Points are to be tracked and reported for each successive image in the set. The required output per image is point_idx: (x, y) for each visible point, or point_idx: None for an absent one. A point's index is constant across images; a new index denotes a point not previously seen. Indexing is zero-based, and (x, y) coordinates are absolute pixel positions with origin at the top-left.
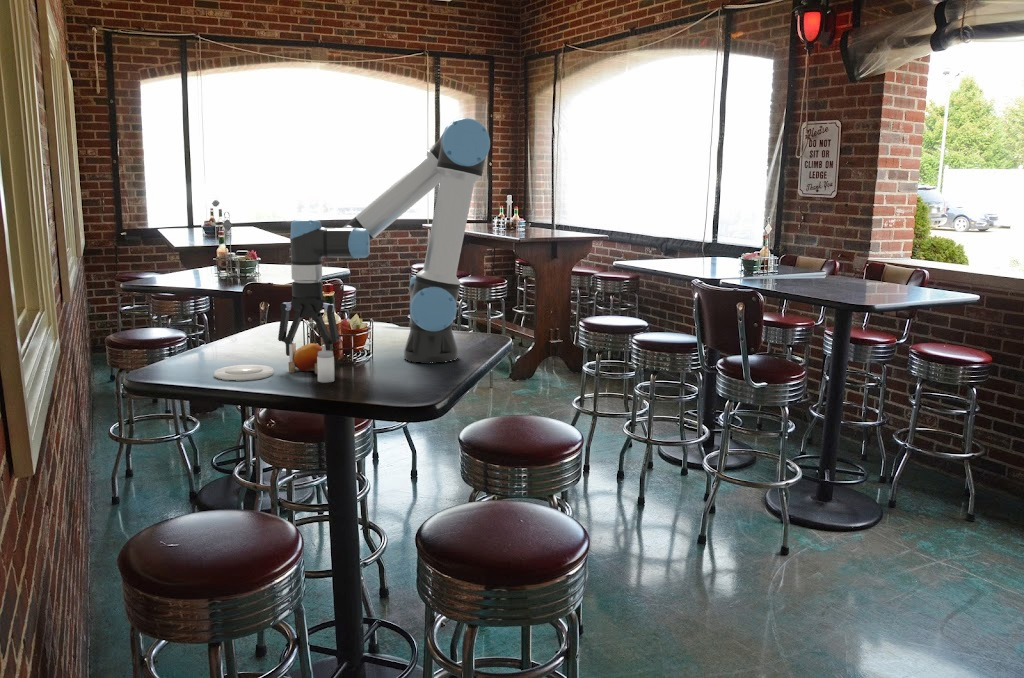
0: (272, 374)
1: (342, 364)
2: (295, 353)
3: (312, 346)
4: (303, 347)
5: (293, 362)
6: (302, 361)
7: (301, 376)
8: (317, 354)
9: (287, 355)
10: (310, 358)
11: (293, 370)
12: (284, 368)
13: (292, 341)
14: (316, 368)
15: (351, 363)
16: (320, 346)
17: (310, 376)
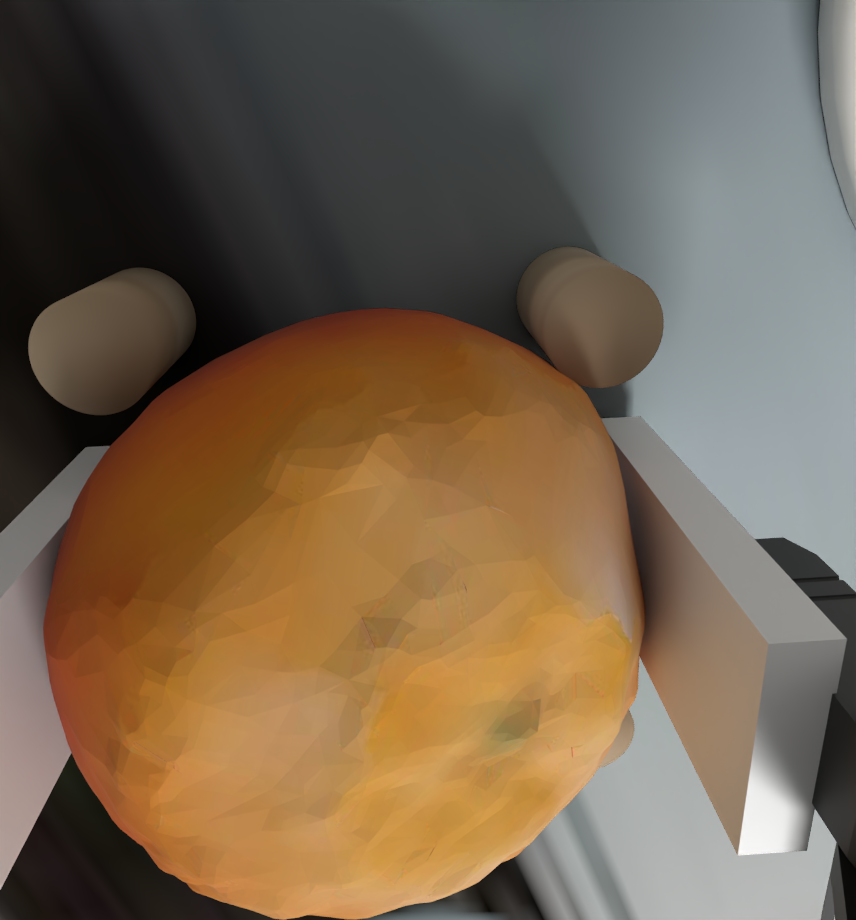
0: (819, 27)
1: (107, 853)
2: (594, 480)
3: (165, 615)
4: (411, 560)
5: (572, 341)
6: (377, 313)
7: (293, 14)
8: (83, 501)
9: (772, 540)
10: (212, 370)
11: (534, 271)
12: (747, 505)
13: (831, 871)
14: (112, 279)
15: (32, 915)
16: (123, 823)
17: (144, 50)
